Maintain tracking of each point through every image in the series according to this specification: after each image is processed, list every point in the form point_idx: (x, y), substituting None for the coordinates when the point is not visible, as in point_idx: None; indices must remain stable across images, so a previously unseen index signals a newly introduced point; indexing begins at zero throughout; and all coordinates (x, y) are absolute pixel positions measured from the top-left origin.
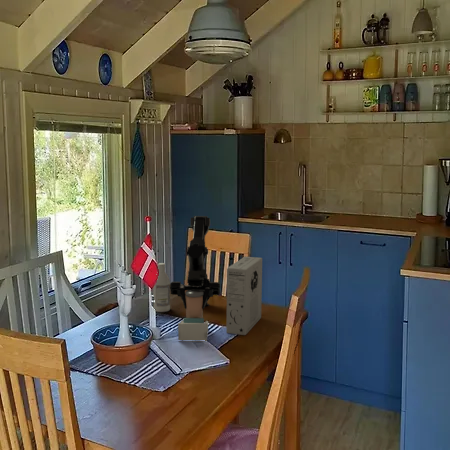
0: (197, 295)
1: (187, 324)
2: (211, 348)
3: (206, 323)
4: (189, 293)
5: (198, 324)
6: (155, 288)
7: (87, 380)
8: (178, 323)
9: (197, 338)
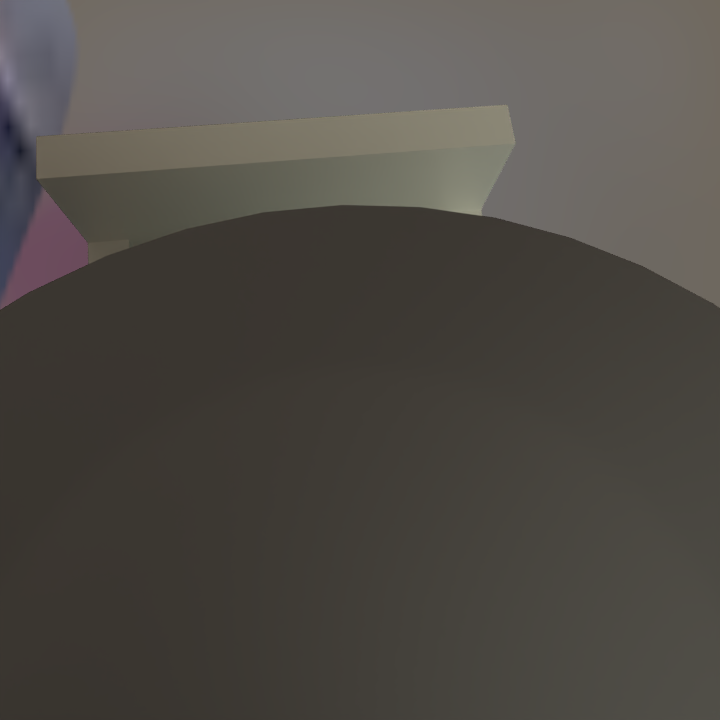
0: (86, 291)
1: (361, 119)
2: (62, 91)
3: (44, 164)
4: (675, 454)
5: (183, 131)
6: None
7: None
8: (506, 114)
9: None
